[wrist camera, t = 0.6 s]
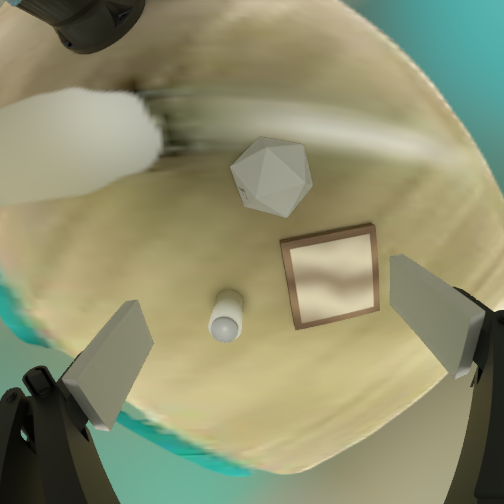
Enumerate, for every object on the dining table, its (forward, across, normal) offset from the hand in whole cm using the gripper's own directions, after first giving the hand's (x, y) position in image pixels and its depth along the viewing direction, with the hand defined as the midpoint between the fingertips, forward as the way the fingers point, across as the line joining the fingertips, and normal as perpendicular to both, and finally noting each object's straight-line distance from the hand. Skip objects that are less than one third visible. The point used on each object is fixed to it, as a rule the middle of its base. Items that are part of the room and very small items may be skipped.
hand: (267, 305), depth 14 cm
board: (+24, +9, -10) cm, 27 cm away
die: (+24, +3, +5) cm, 25 cm away
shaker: (+24, -6, -11) cm, 27 cm away
